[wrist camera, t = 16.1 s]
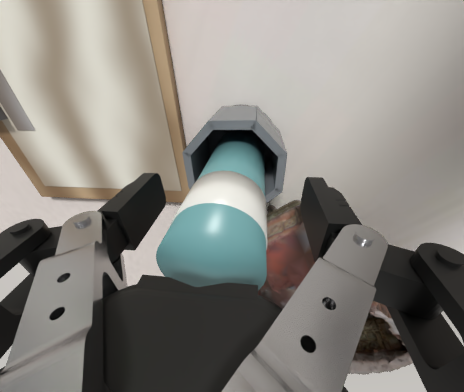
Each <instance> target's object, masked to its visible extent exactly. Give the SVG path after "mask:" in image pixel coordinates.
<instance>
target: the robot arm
mask: <svg viewBox="0 0 464 392" xmlns="http://www.w3.org/2000/svg"><path fill="white" fill-rule="evenodd" d="M165 204H166V196H165V192H164V188H163V184H162V181H161V177H160V175H159V174H158V173H143V174H142V175H140V176H139V177H138V178H137V179H136V180H135V181H134V182H132V183H130V184H128V185H126V186H125V187H124V188H123V189H122V190H121V191H120V192H118V193H117V194H116V195H115V197H113V198H112V199H110V200H109V201H108V202H107V203H106V204H105V205H104V206H103V207H101V208H100V209H99V210H98V211H87V212H83V213H80V214H78V215H75V216H73V217H72V218H70V219H69V220H67V221H66V222H65V223H64V224H63V226H60V227H53V228H48V227H47V225H46V224H45V223H44V221H43V220H41V219H31V220H27V221H23V222H20V223H18V224H15V225H13V226H11V227H9V228H8V229H6V230H5V231H3V232H2V233H0V278H1V277H2V276H4V275H5V274H6V273H7V272H8V271H9V270H11V269H12V268H13V267H14V266H15V265H16V264H18V263H20V264H21V265H22V266H23V267H24V268H25V269H26V270H27V271H28V272H29V273H30V275H28V276H27V277H26V278H25V279H24V280H23V281H22V282H21V283H20V284H19V285H18V286H17V287H16V288H15V289H14V290H13V291H12V292H11V293H10V294H9V295H7V296H6V297H5V298H4V299H3V300H2V301H1V302H0V358H1V357H2V356H3V355H4V354H5V352H6V351H7V350H8V349H9V348H10V346H11V345H12V344H13V345H12V349H11V351H10V355H9V357H8V361H7V363H6V366H5V367H3V368H2V369H0V392H348V391H347V389H346V388H345V387H344V383H345V380H346V377H347V374H348V372H349V369H350V366H351V363H352V360H353V357H354V354H355V351H356V348H357V345H358V342H359V339H360V337H361V334H362V331H363V328H364V325H365V322H366V319H367V316H368V313H369V310H370V307H371V304H372V301H375V302H378V303H380V304H383V305H386V307H387V309H388V311H389V313H390V315H391V317H392V319H393V322H394V324H395V326H396V328H397V330H398V332H399V334H400V336H401V338H402V340H403V342H404V345H405V347H406V349H407V351H408V353H409V355H410V357H411V359H412V361H413V363H414V365H415V367H416V369H417V372H418V374H419V376H420V378H421V380H422V382H423V384H424V386H425V388H426V390H427V392H464V346H463V345H462V343H461V342H460V341H459V339H458V338H457V336H456V335H455V333H454V332H453V330H452V329H451V328H450V326H449V325H448V323H447V322H446V320H445V319H444V317H443V316H442V314H441V312H442V311H444V312H445V313H446V315H447V316H448V317H449V319H450V320H451V321H452V323H453V324H454V326H455V327H456V329H457V330H458V331H459V333H460V335H461V337H462V339H463V342H464V254H462V253H460V252H458V251H457V250H454V249H452V248H450V247H447V246H444V245H441V244H436V243H424V244H421V245H420V246H419V247H418V248H417V250H416V251H415V252H414V251H410V250H407V249H403V248H399V247H395V246H392V245H388V243H387V241H386V239H385V238H384V237H383V236H382V235H381V234H380V233H378V232H377V231H375V230H373V229H371V228H369V227H366V226H363V225H362V224H361V223H360V221H359V220H358V218H357V216H356V215H355V213H354V212H353V210H352V209H351V207H349V204H348V203H347V201H346V200H345V198H344V197H343V195H342V194H341V193H340V192H339V191H337V190H336V189H334V188H331V187H328V186H327V184H326V182H325V180H324V179H323V178H316V177H307V178H306V180H305V184H304V189H303V193H302V198H301V204H300V212H301V216H302V220H303V223H304V227H305V230H306V234H307V237H308V241H309V244H310V248H311V251H312V255H313V258H314V262H315V264H314V265H313V267H312V268H311V269H310V271H309V272H308V274H307V275H306V277H305V278H304V280H303V281H302V282H301V284H300V285H299V287H298V288H297V290H296V291H295V293H294V294H293V295H292V297H291V298H290V300H289V301H288V303H287V304H286V306H285V307H284V308H283V309H282V308H281V307H280V306H278V305H277V304H275V303H274V302H272V301H271V300H269V299H267V298H265V297H263V296H260V295H258V285H251V284H240V283H229V282H228V283H221V284H215V285H208V286H202V287H194V286H191V285H189V284H186V283H183V282H181V281H178V280H176V279H173V278H170V277H162V276H151V275H142V277H141V279H140V280H139V282H138V284H136V285H132V286H129V287H127V280H126V272H125V264H124V257H123V255H122V252H123V250H136V248H137V247H138V245H139V244H140V242H141V241H142V239H143V238H144V236H145V235H146V233H147V232H148V231H149V229H150V228H151V226H152V225H153V223H154V222H155V220H156V219H157V217H158V216H159V214H160V213H161V211H162V210H163V208H164V207H165Z"/></svg>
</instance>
